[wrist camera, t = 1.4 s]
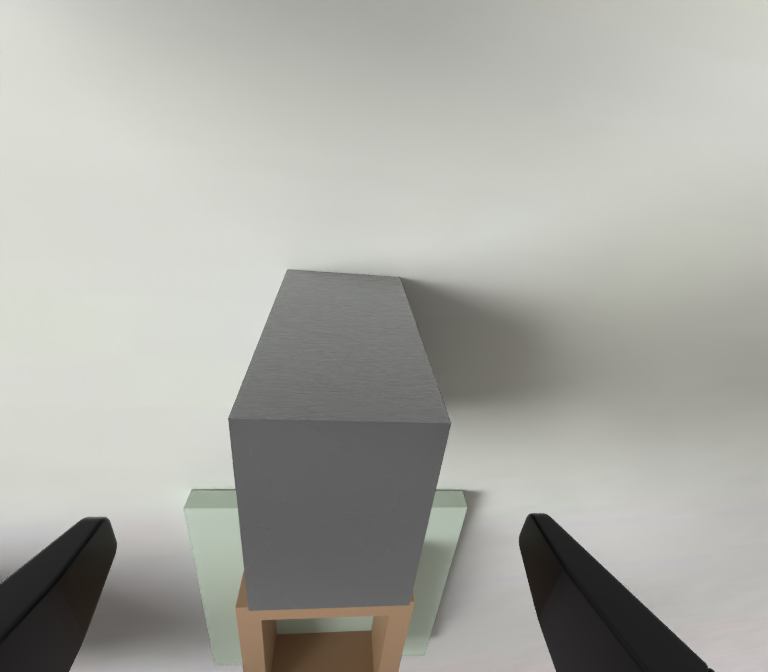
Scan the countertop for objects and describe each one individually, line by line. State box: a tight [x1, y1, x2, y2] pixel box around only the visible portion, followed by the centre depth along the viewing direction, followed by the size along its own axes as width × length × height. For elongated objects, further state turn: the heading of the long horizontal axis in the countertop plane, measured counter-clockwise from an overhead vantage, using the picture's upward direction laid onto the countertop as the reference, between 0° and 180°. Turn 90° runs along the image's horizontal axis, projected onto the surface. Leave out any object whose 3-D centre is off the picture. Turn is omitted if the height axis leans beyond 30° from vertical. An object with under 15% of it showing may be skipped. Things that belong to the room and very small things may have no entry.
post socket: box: [184, 490, 468, 672], centre depth 21 cm, size 13×14×4 cm
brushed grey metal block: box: [228, 270, 451, 611], centre depth 12 cm, size 4×6×8 cm, turn 174°
